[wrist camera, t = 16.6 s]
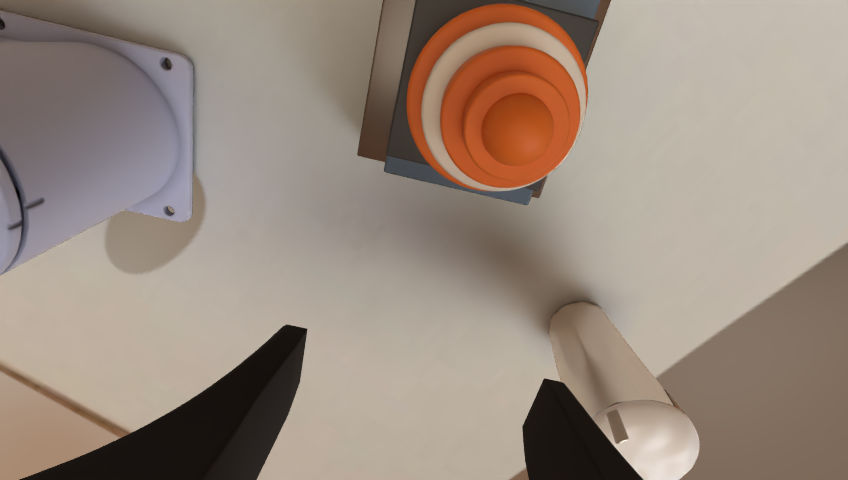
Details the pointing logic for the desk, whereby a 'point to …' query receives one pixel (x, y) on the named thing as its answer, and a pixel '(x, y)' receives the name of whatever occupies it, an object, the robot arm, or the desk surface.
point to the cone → (491, 91)
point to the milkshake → (621, 393)
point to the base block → (389, 71)
